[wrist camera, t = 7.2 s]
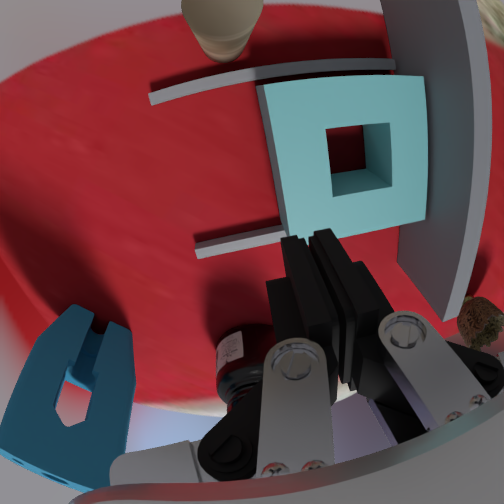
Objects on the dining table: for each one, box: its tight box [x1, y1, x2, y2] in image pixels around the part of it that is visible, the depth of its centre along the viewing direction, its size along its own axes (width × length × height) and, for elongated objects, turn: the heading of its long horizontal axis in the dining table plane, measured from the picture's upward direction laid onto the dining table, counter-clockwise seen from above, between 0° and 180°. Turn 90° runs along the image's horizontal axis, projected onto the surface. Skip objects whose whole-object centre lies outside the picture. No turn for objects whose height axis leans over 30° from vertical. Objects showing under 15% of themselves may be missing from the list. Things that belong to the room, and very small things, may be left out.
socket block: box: [256, 75, 428, 245], centre depth 21 cm, size 12×12×5 cm
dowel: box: [181, 0, 263, 63], centre depth 13 cm, size 3×3×12 cm
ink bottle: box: [216, 324, 277, 413], centre depth 30 cm, size 10×9×12 cm
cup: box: [457, 294, 504, 351], centre depth 33 cm, size 8×7×8 cm
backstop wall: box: [149, 0, 492, 322], centre depth 19 cm, size 22×28×10 cm
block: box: [0, 304, 136, 493], centre depth 24 cm, size 12×5×20 cm, turn 58°
